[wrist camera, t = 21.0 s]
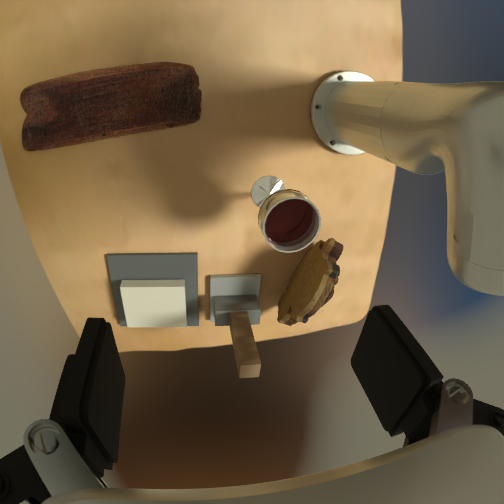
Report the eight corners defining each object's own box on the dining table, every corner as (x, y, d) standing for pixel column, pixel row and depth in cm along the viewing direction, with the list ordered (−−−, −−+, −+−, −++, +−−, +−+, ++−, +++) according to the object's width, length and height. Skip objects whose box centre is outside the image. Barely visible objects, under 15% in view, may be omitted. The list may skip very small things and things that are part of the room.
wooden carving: (292, 310, 56) (309, 349, 47) (269, 305, 54) (284, 345, 45) (335, 230, 49) (363, 260, 41) (311, 221, 48) (337, 252, 39)
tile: (184, 286, 46) (186, 326, 50) (184, 278, 48) (186, 318, 52) (119, 287, 44) (127, 327, 48) (122, 278, 46) (129, 318, 50)
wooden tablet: (202, 58, 33) (201, 132, 37) (201, 62, 35) (201, 133, 39) (18, 87, 29) (18, 155, 32) (25, 88, 31) (25, 153, 35)
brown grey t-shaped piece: (256, 294, 51) (277, 361, 38) (254, 309, 53) (274, 376, 40) (213, 295, 50) (223, 365, 37) (213, 310, 51) (222, 380, 38)
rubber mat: (197, 252, 47) (197, 254, 46) (198, 323, 53) (198, 325, 53) (107, 253, 44) (106, 255, 44) (120, 324, 51) (120, 326, 50)
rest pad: (260, 273, 51) (261, 276, 50) (255, 317, 55) (256, 319, 54) (210, 274, 49) (210, 277, 48) (210, 318, 53) (210, 321, 52)
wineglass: (242, 213, 45) (258, 253, 35) (247, 168, 42) (265, 194, 32) (287, 215, 47) (315, 253, 36) (294, 171, 43) (326, 198, 33)
